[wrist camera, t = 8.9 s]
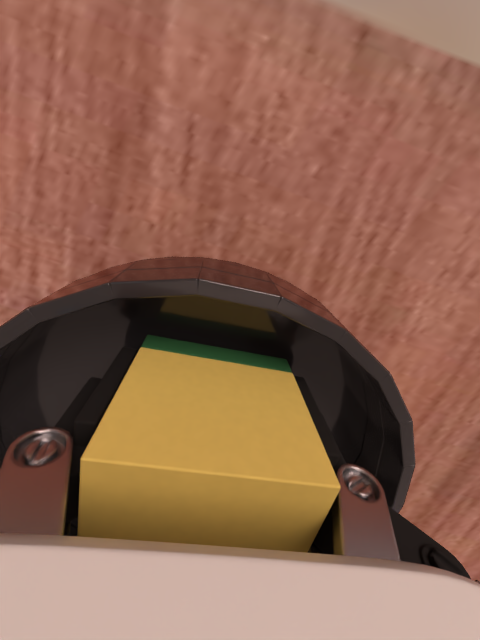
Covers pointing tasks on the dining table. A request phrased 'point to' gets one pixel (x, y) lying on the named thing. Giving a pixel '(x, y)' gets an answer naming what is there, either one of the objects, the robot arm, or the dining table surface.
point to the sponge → (206, 453)
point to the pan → (209, 329)
